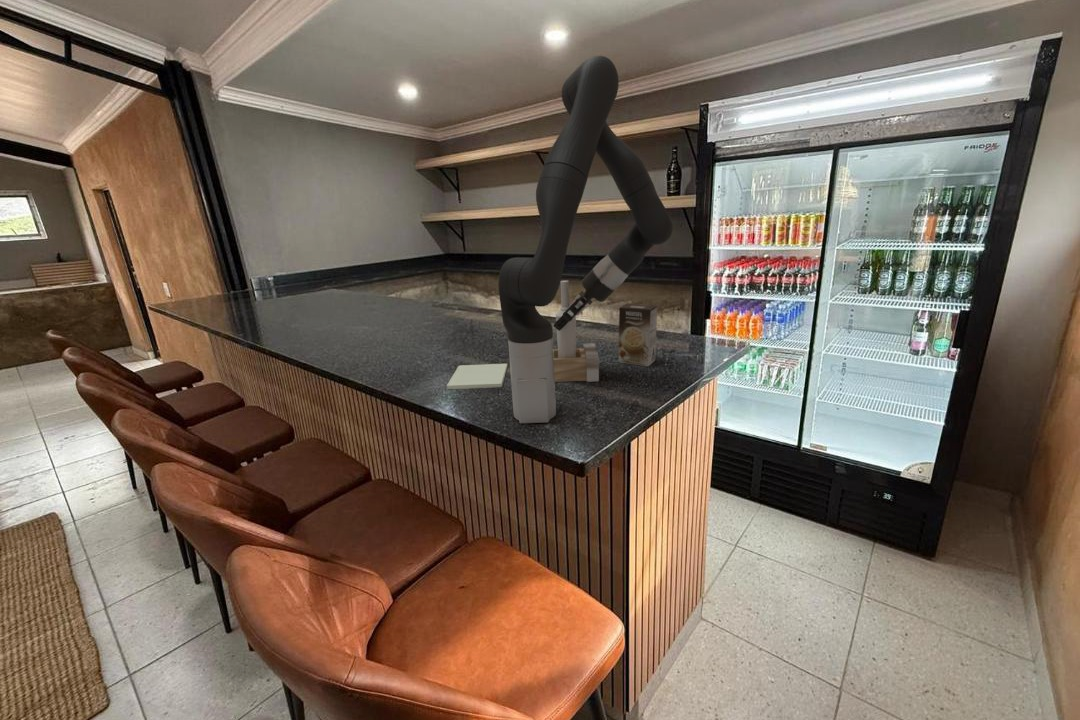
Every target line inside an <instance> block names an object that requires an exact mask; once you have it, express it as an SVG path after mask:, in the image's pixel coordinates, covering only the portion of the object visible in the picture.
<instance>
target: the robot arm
mask: <svg viewBox="0 0 1080 720" xmlns="http://www.w3.org/2000/svg"><path fill="white" fill-rule="evenodd" d="M619 81H620V80H619V75H618V71H617V68H616V66H615V64H614V63H613V61H612V60H611V59H610V58H608V57H606V56H605V55H594V56H591V57H589V58H588V59H586V60H585V61H583V62H582V63H581V64H580V65H579V66H578V67H577V68H576V69H575V70H574V71H573V72H572V73H571V74H570V75H569V76H568V77H567V78H566V80H565V81H564V83H563V85H562V87H561V99H562V104H563V106H564V109H565V110H566V112H567V113H568V115H569V116H568V119H567V121H566V123H565V125H564V126H563V128H562V130H561V132H560V133H559V135H557V138H556V140H555V141H554V143H553V145H552V146H551V148H550V150H549V152H548V154H547V156H546V159H545V161H544V163H543V166H542V170H541V173H540V174H539V175H540V176H539V178H538V181H537V184H536V185H537V186H536V190H535V201H536V206H537V207H536V208H537V211H538V215H539V220H540V223H541V224H540V225H541V233H540V237H539V241H538V245H537V248H536V251H535V253H534V256H533V257H511V258H508V259H507V260H506V261H504V263H503V264H502V266H501V267H500V270H499V275H498V296H499V304H500V312H501V319H502V323H503V326H504V328H505V331H506V332H507V343H508V355H509V368H510V369H509V370H510V384H511V385H510V386H511V398H512V410H513V417H514V418H515V419H516V420H517V421H518V422H519V424H536V423H537V424H538V423H544V424H545V423H549V422H550V420H551V419H553V418H554V417H555V416H556V415H557V403H556V401H557V399H556V382H555V377H554V354H553V349H554V336H553V334H554V333H553V327H554V328H555V329H556V331H557V330H559V331H560V330H561V329H562V328H563V327H564V326H565V325H566V324H567V323H568V322H570V321H571V320H572V319H573V318H574V316H576V317H577V316H579V315H580V314H581V313H582V312H584V310H586V309H588V307H589V306H591V305H592V304H593V302H594V301H593V300H592V299H595V300H596V301H598V302H599V303H603V302H605V301H606V299H608V298H609V297H610V296H611V295H612V294H613V293H614V292H615V291H616V290H617V289H618V288H619V286H621V285H622V284H623V283H624V282H625V280H626V279H627V278H628V276H629V275H630V274H632V272H633V271H635V269H636V268H638V266H639V265H640V264H641V263H642V262H643V260H644V259H645V256H646V254H647V253H648V251H650V250H651V248H652V247H654V246H655V245H658V246H659V245H662V244H664V243H666V242H667V241H668V240H669V239H670V238H671V236H672V234H673V231H674V225H673V224H674V223H673V220H672V217H671V216H670V214H669V212H668V211H667V209H666V207H665V206H664V203H663V202H662V200H661V198H660V196H659V194H658V193H657V190H656V188H655V184H654V182H653V180H652V178H651V176H650V174H649V172H648V170H647V167H646V166H645V164H644V162H643V160H642V159H641V157H640V156H639V155H638V154H637V153H636V152H635V150H633V149H632V148H631V147H630V146H628V145H627V144H626V143H625V142H624V141H623V140H621V138H619V137H618V136H617V135H616V134H615V132H614V131H613V130H612V128H611V127H610V126H609V125H608V122H607V120H608V117H609V114H610V112H611V109H612V108H613V105H614V103H615V101H616V98H617V95H618V91H619ZM595 154H597V155H598V157H599V158H600V159H601V161H602V162H603V164H604V166H605V167H606V168H607V170H608V172H609V173H610V175H611V177H612V179H613V181H614V182H615V185H616V187H617V189H618V191H619V193H620V195H621V197H622V199H623V200H624V202H625V203H626V205H627V207H628V208H629V210H630V212H631V214H632V215H631V216H633V219H634V220H635V224H633V226H632V227H631V229H630V230H629V231H628V232H627V233H626V235H625V236H624V237H623V239H622V240H621V241H620V242H618V244H616V245H615V246H614V247H613V248H612V249H611V250H610V251H609V253H608V254H607V255H606V256H604V257H603V258H601V259H600V261H599V262H598V263H597V264H595V266H594V267H593V268H592V269H591V270H590V271H589V272H588V273H587V274H586V275H585V276H584V277H583V279H582V280H581V285H582V288H583V289H584V290H585V292H583V291H582V290H581V291H580V292H579V293H578V294H577V295H576V296H575V298H574V299H573V300H572V301H571V303H569V306H568V309H567V310H566V311H565V312H564V313H563V315H562V316H561V317H560V318H559V320H558V321H557V322H556V321H555V323H554V324H552V323H551V322H550V320H548V319H546V318H545V317H543V316H542V314H540V313H539V311H538V310H537V308H536V307H547V306H549V304H551V303H552V302H553V300H554V299H555V297H556V295H557V293H558V290H559V287H560V286H561V281H562V275H563V271H564V265H565V262H566V256H567V252H568V251H567V250H568V247H569V242H570V239H571V234H572V230H573V227H574V223H575V220H576V217H577V213H578V210H579V207H580V204H581V201H582V200H583V199H582V198H583V194H584V191H585V189H586V184H587V182H588V177H589V174H590V170H591V167H592V163H593V161H594V158H595ZM569 310H570V311H571V312H572V313H573V314H574V315H573V316H571V315H570V314H568V313H567V312H568V311H569Z"/></svg>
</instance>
